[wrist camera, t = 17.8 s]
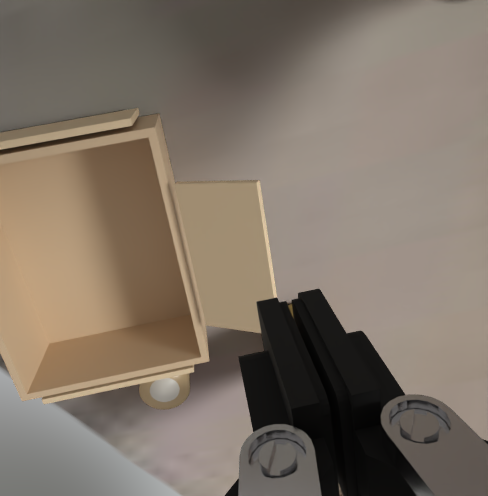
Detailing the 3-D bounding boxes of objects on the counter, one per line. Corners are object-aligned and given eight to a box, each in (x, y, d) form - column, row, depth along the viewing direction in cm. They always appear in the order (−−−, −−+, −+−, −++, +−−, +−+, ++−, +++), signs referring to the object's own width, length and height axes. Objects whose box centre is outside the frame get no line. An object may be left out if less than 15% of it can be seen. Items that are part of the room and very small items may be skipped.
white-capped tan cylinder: (137, 345, 48) (133, 375, 43) (183, 335, 48) (184, 365, 43) (148, 382, 50) (145, 414, 45) (192, 372, 50) (194, 404, 45)
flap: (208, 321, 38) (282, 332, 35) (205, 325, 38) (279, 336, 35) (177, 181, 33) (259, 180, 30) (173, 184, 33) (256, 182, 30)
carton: (-37, 137, 38) (-89, 157, 31) (157, 102, 39) (152, 114, 31) (49, 353, 47) (25, 408, 39) (206, 320, 48) (211, 369, 40)
